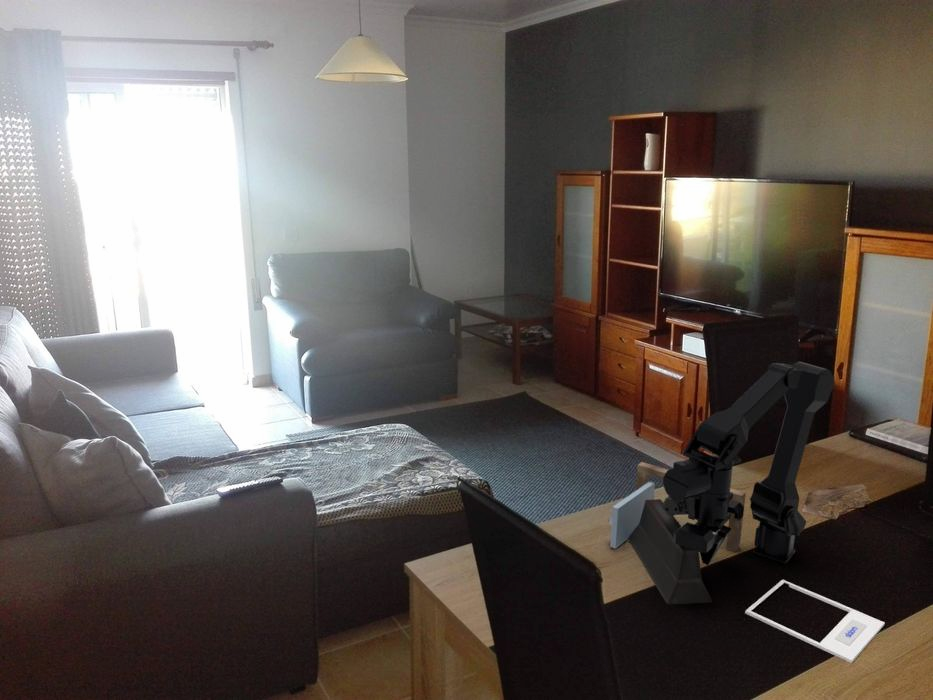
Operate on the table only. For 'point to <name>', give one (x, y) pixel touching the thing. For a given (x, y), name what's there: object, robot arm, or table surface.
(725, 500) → the robot arm
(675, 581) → the barrier
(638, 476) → the door frame
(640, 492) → the door
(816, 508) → the wooden fragment
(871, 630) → the photo frame
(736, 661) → the table surface
